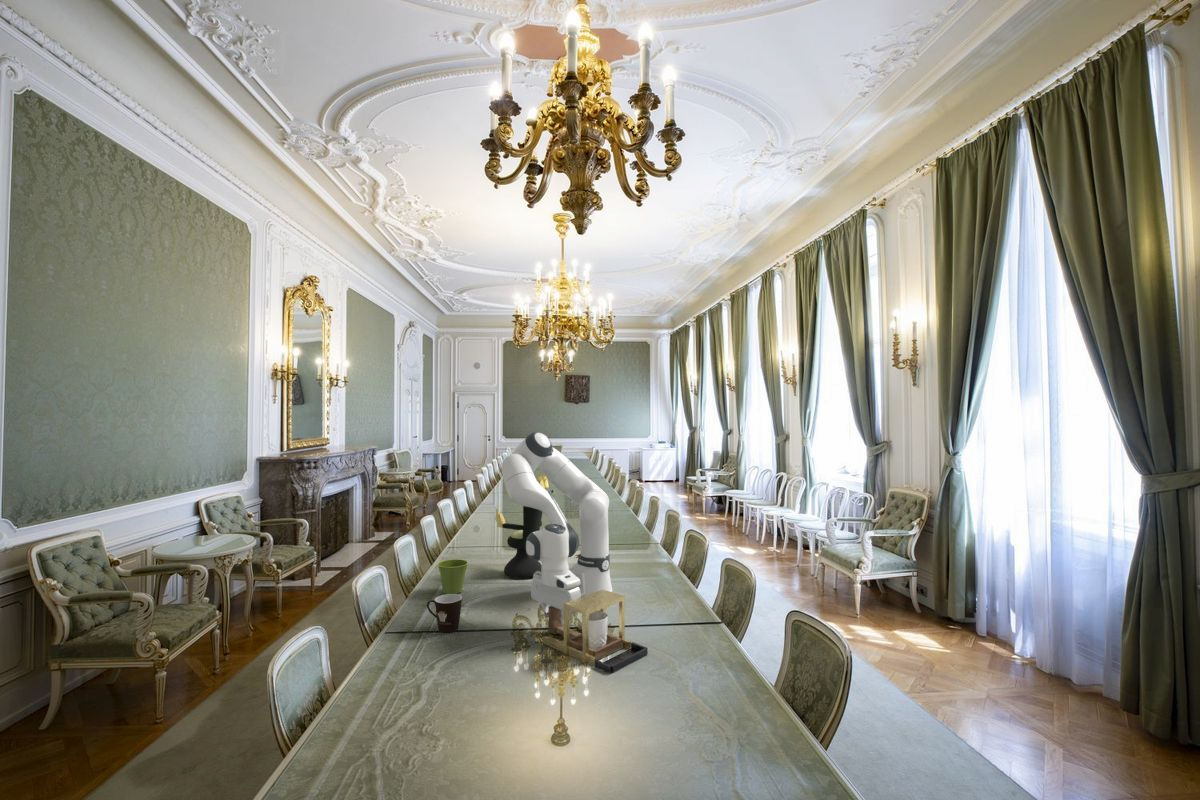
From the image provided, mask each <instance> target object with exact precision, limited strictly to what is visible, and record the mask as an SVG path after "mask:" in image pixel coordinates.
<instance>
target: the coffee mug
mask: <svg viewBox="0 0 1200 800" xmlns="http://www.w3.org/2000/svg"><path fill="white" fill-rule="evenodd" d="M462 602H463V596H462V595H460V594H459V593H457V594H446V593H444V594H442V595H438V596H437V597H435V598H434V599H431V600H428V601H427V603H426V608H427V610H428V612H429V613H430V614H431V615H432V616H433V617H434V618H436V622H437V631H438V632H439V633H441V634H452V633H456V632H457V631H458V630H459V628H460V627H459V626H460V618H461V611H462V604H463V603H462ZM430 603H434V605H435V613H434V612H433V611H432V610H431V609H430Z"/></svg>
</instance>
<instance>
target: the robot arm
mask: <svg viewBox="0 0 1200 800" xmlns="http://www.w3.org/2000/svg"><path fill="white" fill-rule="evenodd" d="M537 469H539V470H540V471H541V473H542V474H543V475H545V476H546V477H547V480H549V481H550V482H551V483H552V485H554V486H555V487H556V488H557V489H558V490H559V491H560V492H561V493H562V494H563V495H564V496H566V497H567V498H569V499H570V500H571V501H573V502H574V503H575V504H577V506H579V509H578V511H579V513H578V514H579V531H580V538H579V535H578V534H577V532H576V530H575V528H573V527H572V525H571V524H570V523H569V521H568V519H567V517H566V516H565V514H564V513H563V511H562V509H561V506H560V505H559V504H558V502H557V501H556V499H555V498H554V495H552V493H551V492H550V491H549V490H548V489H547V490H546V489H544V488H543V487H542V486H541V485H540V484H539V483H538V481H537V480H536V478H537V477H536V475H535V473H534V472H535V471H537ZM501 472H502V473H501V474H502V480H503V482H504V486H505V489H506V492H507V495H508V497H509V498H510V500H511V501H512V502H513V503H514V504H516V505H518V506H522V507H523V506H526V507H531V508H535V509H538V510H540V511H542V512H543V513H542V514H544V515H546V517H547V519H548V522H550V523H548V524H545V526H543V528H542V529H540V530H539V531H535V532H532V533H530V534H529V536H528V537H527V539H526V542H525V550H526V554H527V555H528V556H529V557H530V558H531V559H532V560H534V561H539V562H540V563H541V565H542V567H541V572H540V571H536V572H535V573H534V575H533V578H532V581H531V587H530V597H531V599H532V600H534V601H536V602H540V604H541V606H540V607H541V608H542V610H543V617H545V618H547V619H548V607H549V606H552V607H555V608H558V609H560V610H561V613H562V616H561V617H559V622H560V623H562V625H564V603H566V602H569V601H572V600H575V599H578V598H580V597H583V596H586V595H589V594H592V593H594V592H597V591H600V590H606V591H610V592H614V591H613V587H612V580H611V574H610V562H611V557H610V556H611V555H610V553H609V552H610V551H609V547H610V545H609V544H610V543H609V542H610V540H609V536H610V535H609V507H610V498H609V496H608V494H607V493H606V492H605V491H604V490H603V489H602V488H601V487H599V486H598V485H597V484H596V483H595V482H593V480H591V478H589V477H587V476H586V474H584V473H583V472H582V471H581V470H580V469H579V468H578V467H577V466H576V465H575V464H574V463H573V462H572V461H571V460H570V459H568V457H566V456H565V454H563V453H562V452H560V451H559V450H558V449H556V448H555V447H553V444H552V442H551V440H550V438H549V437H548V436H547V435H546V434H544V433H542V432H538V431H533V432H531V433H530V434H528V435H527V436H525V439H524V440H522V441H521V442H520V443H519V444H518V446H516V448H515V450H514V451H513V452H512V453H511V454H509V455H507V456H506V457H504V459H503V460H502V462H501ZM579 547H580V553H579V554H576V552H577V551H578V549H579ZM574 555H575V559H577V561H576V563H575V564H573V565H572V566H571V567H569V565H570V564H569V562H568V561H569V559H568V558H572V557H573V556H574ZM570 614H576V612H575V611H572V610H570Z"/></svg>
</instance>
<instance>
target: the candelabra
mask: <svg viewBox="0 0 1200 800" xmlns="http://www.w3.org/2000/svg"><path fill="white" fill-rule="evenodd" d="M535 478H536V480H537V481H538V483H539V484H540V485H541V486H542V487H543V488H544V489H546V490H547V491H548V490H549V481H548V480H549V479H548V478H547V477H546V476H545V475H544V474H541V472H540V471H539V472H538V473H537V476H536V477H535ZM522 508H523V509H522V519H523V520H522V521H523V522H522V524H517V523H509V522H506V519H505V517H504V515H503V514H502V513H501V512H500V511H499V510H498V509H497V508H495V522H496V524H497V525H496V527H497V528H503V529H507V530H514V532H513V533H512V534H510V536H508V538H507V540H506V542H507V545H508V547H510V548H512V549H514V550H516V554H515V555H514V557H512V558H511V559H510V560H509V561H508V562H507V563H506V564H505V566H504V568H503V574H504V575H506V576H507V577H508V578H512V579H521V580H522V579H533V575H534V573H535V572H536V571H540V572H541V567H542V563H541V561H534V560H532V559H531V558H530V557H529V556H528V555H527V554H526V550H525V542H526V539H527V537H528V536H529V534H530V533H532V532H535V531H539V530H541V529H540V528H541V527H542V526H543V522H542V518H543V514H544V513H543V512H542V511H540V510H538V509H535V508H531V507H526V506H522ZM515 530H516V531H515Z"/></svg>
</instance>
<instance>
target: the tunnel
mask: <svg viewBox="0 0 1200 800" xmlns="http://www.w3.org/2000/svg"><path fill="white" fill-rule="evenodd" d="M625 601H626V597H625V595H623V594H618V593H617V592H614V591H612V592H610V591H606V590H600V591H597V592H594V593H592V594H589V595H586V596H581V597H580V598H578V599H575V600H572V601H569V602H566V603H564V623H563V627H564V635H563V642H561V641H558V640H556V639H553V638H552V637H549V636H547V635H545V636H543V644H544V645H546V646H548V647H550V648H551V649H552V648H553V649H555V650H557V651H559V652H561V653H563V655H567V656H570V657H572V658H575V659H578V660H579V661H581V662H582V663H583V664H588V665H591V666H593V667H595V668H596V669H599V670H601V671H603V672H604V673H608V674H614V673H616V672H617V671H620V670H621V669H624V668H626V667H628V666H629V665H631V664H633V663H635V662H637V661H639V660H641V659H642V658H645V657H646V656H647V655H648V647H646V646H645V645H643V644H639V643H636V642H633V641H631V640H629V639H626V638H625V637H626V636H625V632H626V631H625V629H626V627H625V625H626V622H625V621H626V619H625V618H626V617H625V616H626V615H625V614H626V613H625V610H626V609H625V608H626V607H625V605H626V603H625ZM616 604H618V635H616V634H613V633H610V632H608V631H607V633H608V634H610V635H613V636H616V637H618V638H621V639H623V648H625V649H627V650H625V651H623V652H621V653H619V654H616V655H615V656H612V657H610V658H609V659H607V660H604V661H601V660H600V659H599V660H597V658H596V657H594V656H591V655H589V614H591V613H593V612H596V611H601V612H604V613H606V614H607V610H606V608H608V607H611V606H614V605H616ZM570 610H572V611H575V613H577V614H581V615H582V614H583V643H582V645H583V652H582V651H580V650H577V649H575V648H573V647H570V646H569V639H570V638H569V636H570V630H571V629H570V625H571V623H570V620H571V619H570V618H571V617H570V614H571V613H570ZM577 624H578V626H577V628H578V629H577V630H579V631H581V632H582V621H581V622H580V621H579V622H578V623H577Z"/></svg>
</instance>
